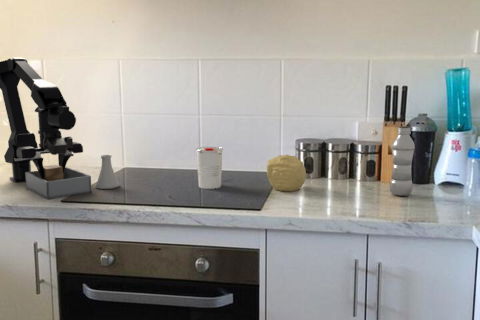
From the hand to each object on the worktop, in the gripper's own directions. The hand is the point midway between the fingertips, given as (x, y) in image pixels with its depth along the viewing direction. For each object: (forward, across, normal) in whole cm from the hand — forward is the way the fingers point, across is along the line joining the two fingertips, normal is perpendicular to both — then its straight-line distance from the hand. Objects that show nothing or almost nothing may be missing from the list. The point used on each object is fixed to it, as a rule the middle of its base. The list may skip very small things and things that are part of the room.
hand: (52, 177), depth 164 cm
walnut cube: (+2, 0, 0) cm, 2 cm away
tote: (+3, 0, -4) cm, 6 cm away
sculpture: (+3, +54, -48) cm, 73 cm away
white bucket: (+3, +38, -30) cm, 49 cm away
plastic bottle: (+3, +75, -75) cm, 106 cm away
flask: (+4, +14, -10) cm, 17 cm away
